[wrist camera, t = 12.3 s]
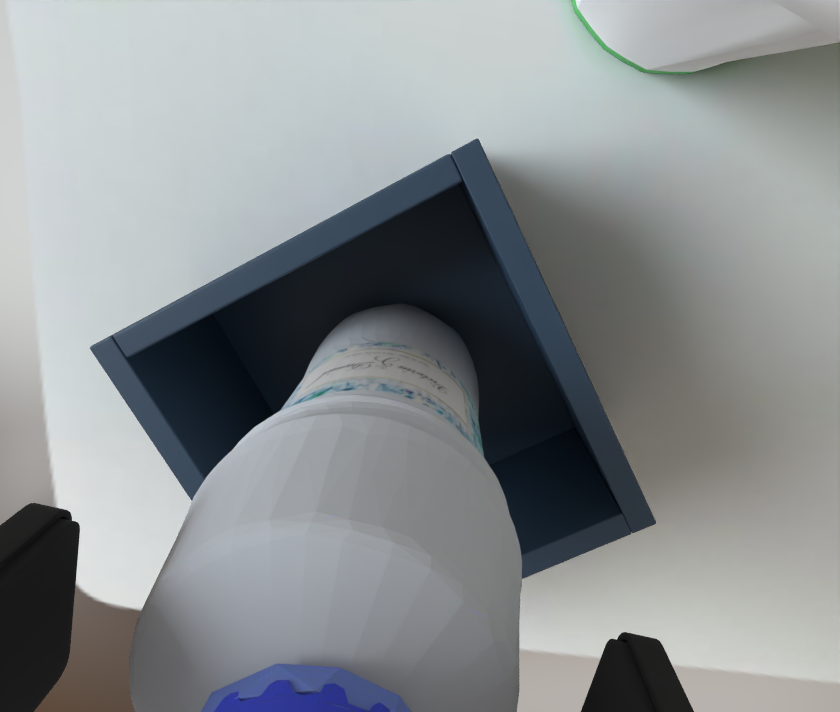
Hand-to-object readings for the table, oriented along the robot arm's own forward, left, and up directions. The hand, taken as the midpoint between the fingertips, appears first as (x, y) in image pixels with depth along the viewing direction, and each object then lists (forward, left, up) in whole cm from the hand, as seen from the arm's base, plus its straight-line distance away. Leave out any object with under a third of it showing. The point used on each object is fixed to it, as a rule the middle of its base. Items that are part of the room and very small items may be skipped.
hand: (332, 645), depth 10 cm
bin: (0, 0, -16) cm, 16 cm away
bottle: (0, 0, -16) cm, 16 cm away
